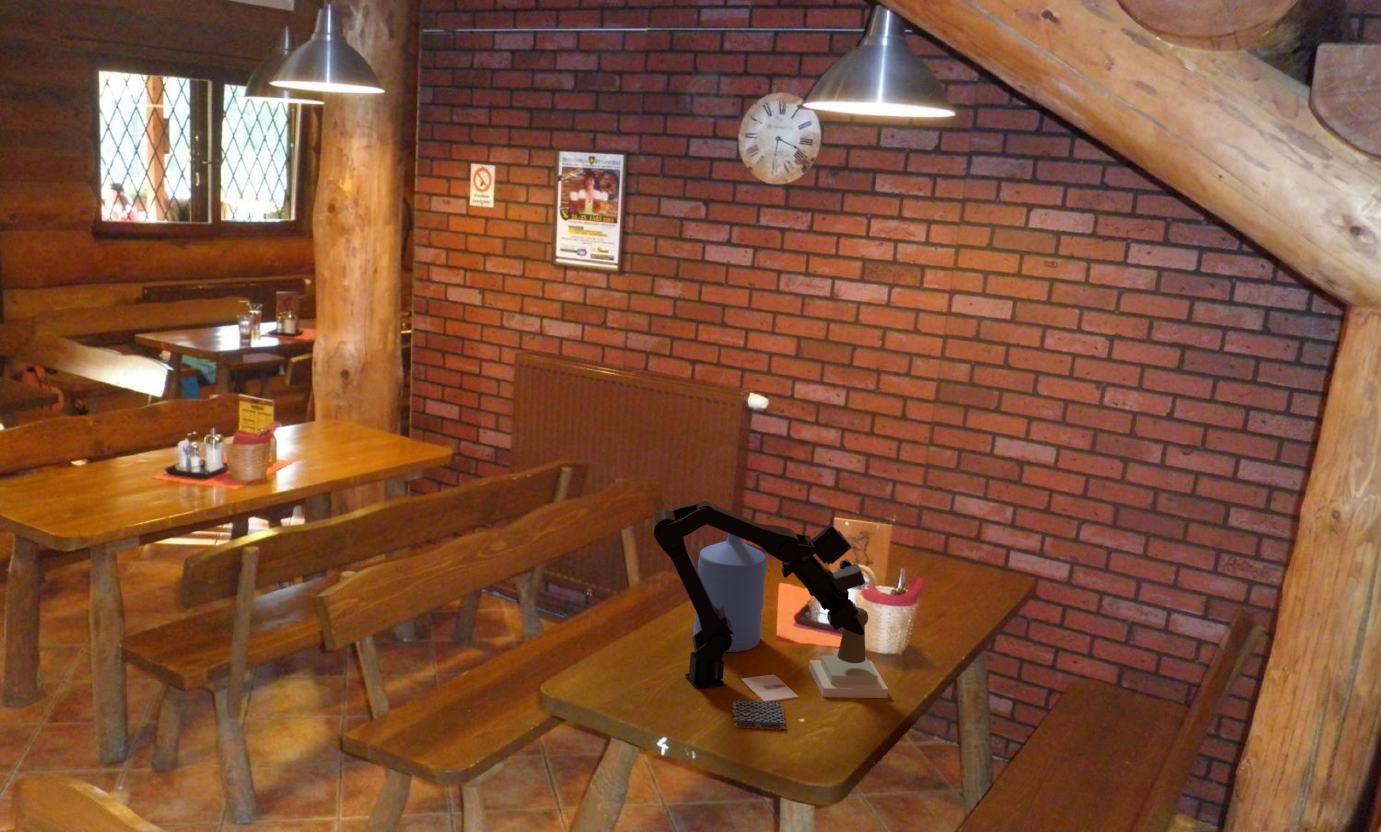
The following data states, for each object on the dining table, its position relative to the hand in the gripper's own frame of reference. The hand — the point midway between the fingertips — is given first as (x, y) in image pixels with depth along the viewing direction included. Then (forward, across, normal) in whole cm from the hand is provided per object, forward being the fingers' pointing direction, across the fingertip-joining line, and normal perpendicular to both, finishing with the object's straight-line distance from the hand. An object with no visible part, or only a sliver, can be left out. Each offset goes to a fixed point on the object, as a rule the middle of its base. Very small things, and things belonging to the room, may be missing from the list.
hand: (860, 628), depth 251 cm
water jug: (-8, +22, +28) cm, 37 cm away
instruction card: (-4, -3, +23) cm, 23 cm away
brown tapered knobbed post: (+4, 0, +6) cm, 7 cm away
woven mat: (-6, -16, +26) cm, 31 cm away
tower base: (+9, +2, +10) cm, 13 cm away
